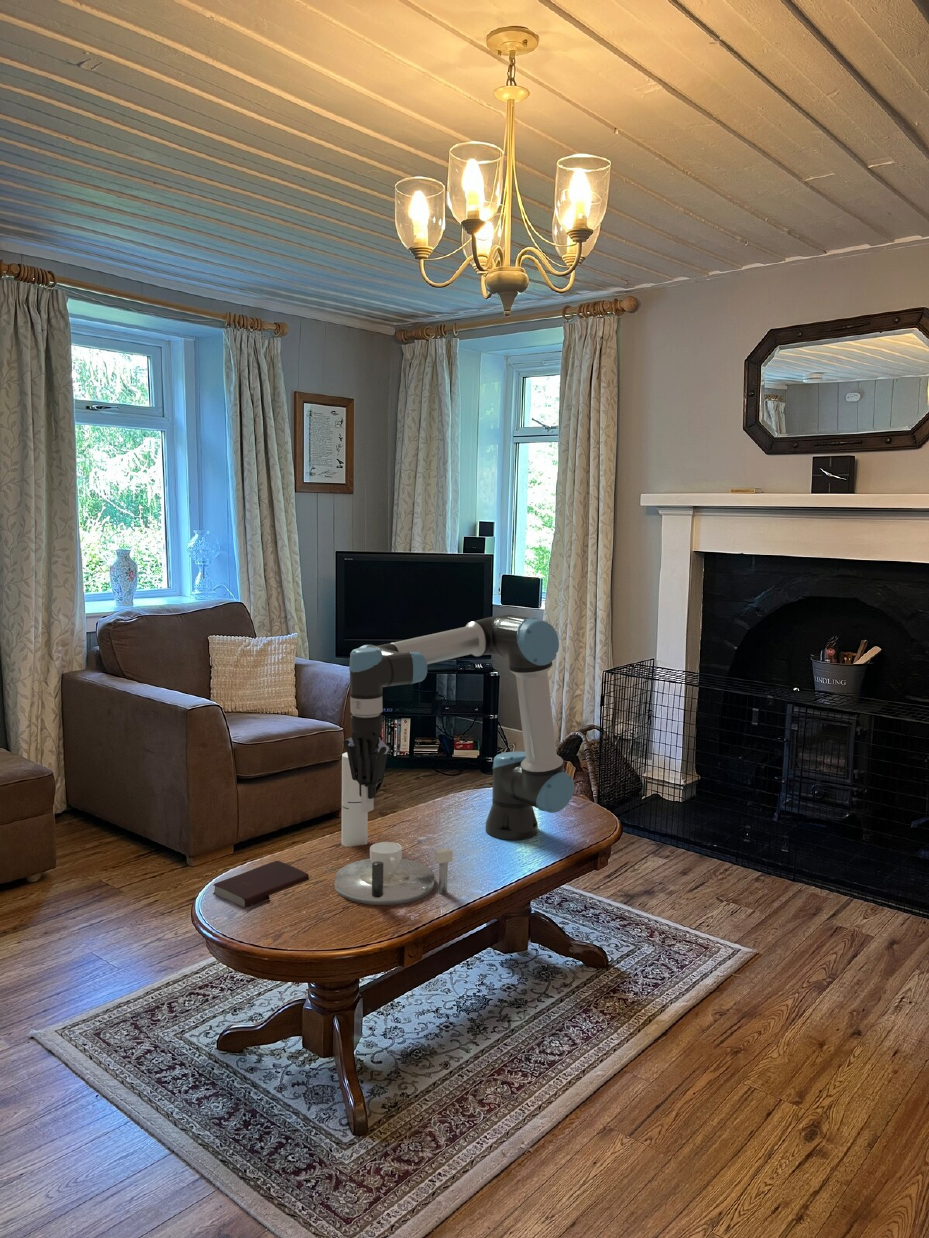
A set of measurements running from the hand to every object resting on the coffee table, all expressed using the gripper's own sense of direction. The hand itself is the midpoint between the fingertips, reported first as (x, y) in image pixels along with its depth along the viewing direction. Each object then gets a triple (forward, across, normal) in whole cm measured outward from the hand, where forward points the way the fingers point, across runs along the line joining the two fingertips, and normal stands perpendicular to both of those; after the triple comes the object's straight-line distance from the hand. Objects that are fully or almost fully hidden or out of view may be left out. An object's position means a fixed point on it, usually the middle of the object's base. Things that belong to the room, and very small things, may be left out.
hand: (367, 810), depth 213 cm
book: (+20, -22, -14) cm, 33 cm away
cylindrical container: (+21, -23, +22) cm, 38 cm away
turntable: (+19, +2, +3) cm, 19 cm away
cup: (+17, +3, +3) cm, 18 cm away
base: (+20, +2, +3) cm, 20 cm away
